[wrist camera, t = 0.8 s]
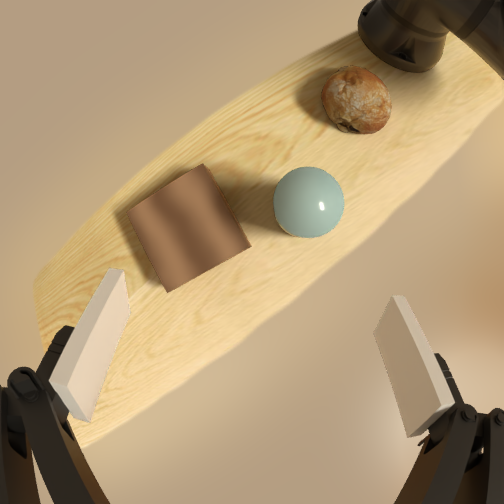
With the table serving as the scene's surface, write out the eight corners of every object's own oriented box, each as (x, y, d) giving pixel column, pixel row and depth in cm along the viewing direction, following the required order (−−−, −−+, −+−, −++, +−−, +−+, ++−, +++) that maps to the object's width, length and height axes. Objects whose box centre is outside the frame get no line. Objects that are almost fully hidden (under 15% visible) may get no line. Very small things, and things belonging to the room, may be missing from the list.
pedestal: (209, 169, 41) (202, 163, 37) (251, 246, 41) (248, 247, 37) (138, 213, 42) (126, 212, 38) (176, 287, 42) (167, 293, 38)
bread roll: (315, 123, 43) (318, 128, 36) (325, 61, 38) (330, 53, 31) (377, 138, 42) (390, 145, 35) (388, 77, 37) (404, 73, 30)
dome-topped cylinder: (310, 175, 40) (321, 154, 29) (336, 221, 40) (356, 216, 29) (264, 200, 41) (260, 187, 30) (290, 246, 41) (295, 250, 30)
